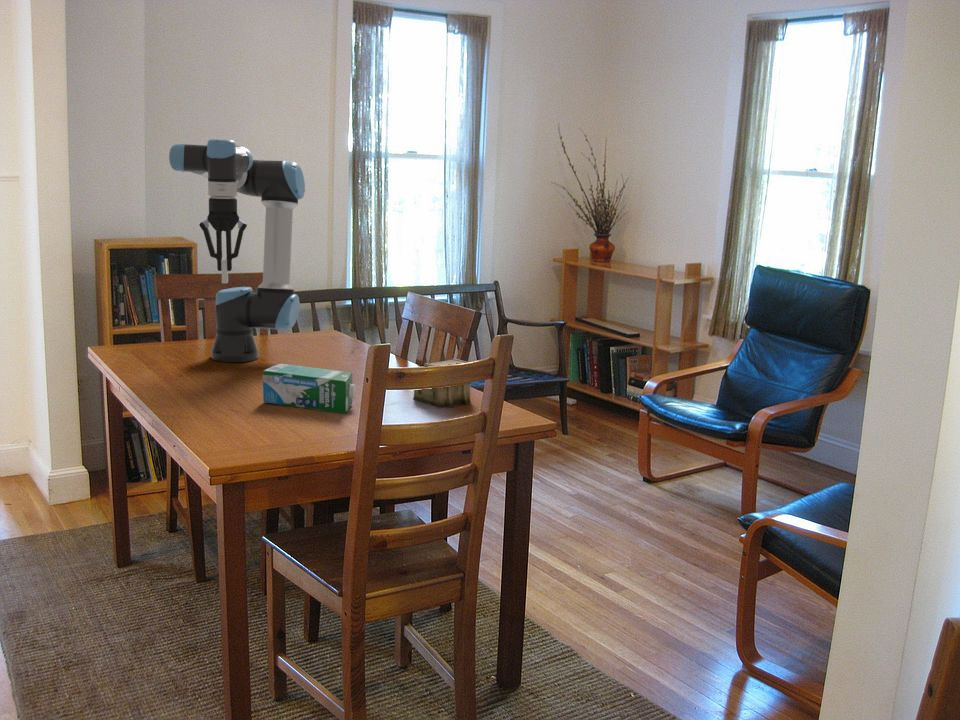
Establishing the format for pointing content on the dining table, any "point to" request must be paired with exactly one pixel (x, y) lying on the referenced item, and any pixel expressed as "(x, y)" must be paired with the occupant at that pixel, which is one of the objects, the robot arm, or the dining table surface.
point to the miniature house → (444, 391)
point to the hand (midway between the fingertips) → (225, 282)
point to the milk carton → (308, 387)
